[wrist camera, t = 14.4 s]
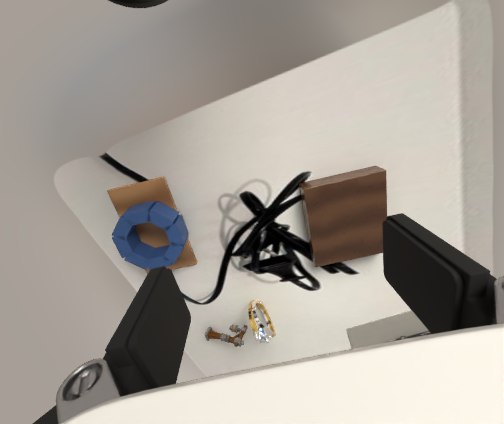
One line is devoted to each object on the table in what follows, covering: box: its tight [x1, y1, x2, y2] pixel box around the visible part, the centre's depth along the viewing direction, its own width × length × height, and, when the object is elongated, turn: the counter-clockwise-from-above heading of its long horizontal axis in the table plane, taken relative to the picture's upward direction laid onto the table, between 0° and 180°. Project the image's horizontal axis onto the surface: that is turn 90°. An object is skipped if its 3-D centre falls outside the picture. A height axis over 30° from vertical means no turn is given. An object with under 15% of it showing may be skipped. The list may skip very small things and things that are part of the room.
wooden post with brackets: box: [205, 325, 247, 347], centre depth 49 cm, size 2×8×4 cm, turn 100°
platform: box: [299, 166, 387, 267], centre depth 40 cm, size 14×12×3 cm
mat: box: [107, 177, 197, 274], centre depth 41 cm, size 16×9×1 cm, turn 13°
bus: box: [347, 310, 431, 349], centre depth 51 cm, size 14×25×4 cm, turn 110°
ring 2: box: [249, 299, 276, 343], centre depth 44 cm, size 7×3×8 cm, turn 28°
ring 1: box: [112, 201, 189, 270], centre depth 39 cm, size 10×10×4 cm
